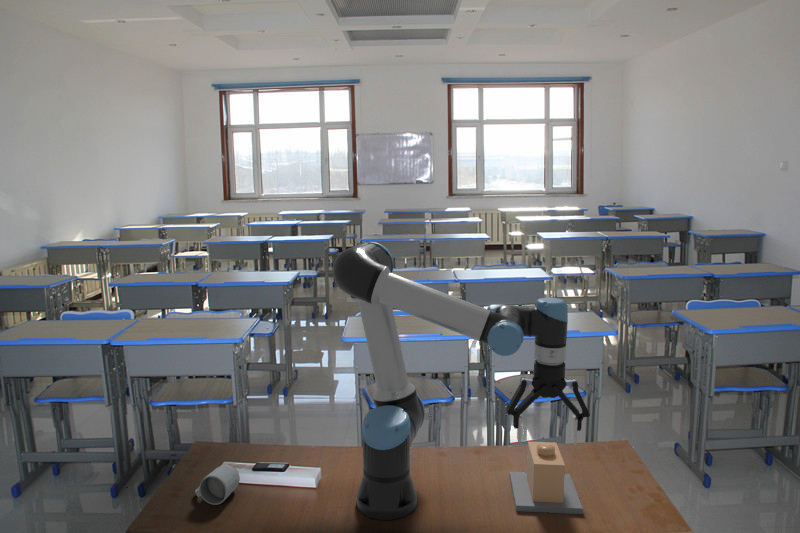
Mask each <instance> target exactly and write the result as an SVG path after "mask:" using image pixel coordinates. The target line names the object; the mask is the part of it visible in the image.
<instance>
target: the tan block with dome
mask: <svg viewBox="0 0 800 533" xmlns="http://www.w3.org/2000/svg"><path fill="white" fill-rule="evenodd" d="M526 453H527V457H526V472H527V480H528V484H529V488H530V492H531V496H532V500H533V501H534V502H556V503H563V497H564V477H565V474H566V472H565V471H566V464H565V461H564V458H563V457H562V453H561V451H560V448H559V446H558V444H557V442H551V441H550V442H547V441H527V452H526Z"/></svg>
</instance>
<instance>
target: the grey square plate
mask: <svg viewBox="0 0 800 533" xmlns="http://www.w3.org/2000/svg"><path fill="white" fill-rule="evenodd" d="M508 475H509V481H510V482H509V483H510V486H511V492H512V496H513V497H512V498H513V501H514V502H513V504H514V508H515V511H516V512H527V513H528V512H530V513H547V512H548V514H550V513H552V514H553V513H554V514H567V515H568V514H571V515H583V514H584V508H583V506H582V502H581V500H580V497H579V494H578V492H577V490H576V487H575V484H574V481H573V480H572V477H571V474H569V473H565V477H564V497H563V503H556V502H534V501H533V500H532V496H531V492H530V488H529V484H528V480H527V471H525V472H524V471H509V474H508Z"/></svg>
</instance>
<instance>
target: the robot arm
mask: <svg viewBox="0 0 800 533" xmlns="http://www.w3.org/2000/svg"><path fill="white" fill-rule="evenodd" d="M393 271H394V258H393V255H392V253H391V251H390V250H389V249H388V248H387V246H385V245H383V244H381V243H379V242H376V241H365V242H363V241H362V242H361V243H358V244H356V245H354V246H352V247H349V248H346V249H344V250H343V251H341V252H340V253H339V254H338V255H337V256H336V257H335V260H334V262H333V265H332V277H333V280H334V282H335V284H336V286H337V287H338V288H339V289H340V290H341V291H342V292H344V293H345V294H347V295H349V296H350V297H351V299H352V300H353V301H354V302H356V303H357V304H358V307H359V312H360V316H361V321H362V325H363V326H362V327H363V330H364V335H365V340H366V345H367V348H368V353H369V358H370V362H371V366H372V371H373V375H374V379H375V380H374V381H375V385H376V389H375V392H374V394H373V395H372V397H373V398H372V399H373V402H374V407H375V408H373V409H370V410H369V411H368V412H367V413H366V414H365V415H364V418H363V420H362V426H361V427H362V428H361V434H362V471H363V472H362V473H363V474H362V477H361V480H360V483H359V485H358V486H359V487H358V489H357V492H356V507H357V509H358V510H359V512H360V513H361V514H363V515H365V517H368V518H371V519H375V520H378V521H379V520H380V521H391V520H397V519H400V518H405V517H406V516H409V515H410V514H411V513H412V512H413V511H414V510H415V509H416V507H417V506H418V504H417V503H418V500H417V499H418V498H417V497H418V494H417V490H416V488H415V484H414V482H413V479H412V476H411V470H410V469H411V467H410V466H411V447H412V444H413V442H414V440H415V438H416V436H417V435H418V432H419V431H420V429H421V428H422V426H423V423H424V420H425V419H424V418H425V410H426V409H425V405H424V402H423V400H422V398H421V396H419V394H417V389H416V386H415V385H414V383H411V382H409V377H408V374H407V369H406V366H405V365H406V364H405V359H404V354H403V351H402V350H403V349H402V345H401V342H400V341H401V340H400V336H399V331H398V327H397V321H396V318H395V312H394V309H396V310H398V311H401V312H403V313H406V314H409V315H411V316H414V317H416V318H419V319H421V320H423V321H427V322H429V323H431V324H434V325H437V326H439V327H441V328H445V329H447V330H450V331H452V332H454V333H457V334H460V335H463V336H465V337H468V338H469V339H472V340H475V341H478V342H480V343H483V344H486V346H487V345H488V347H489V348H490V350H491V351H492V352H494V354H496V355H499V356H501V357H506V356H507V357H508V356H512V355H514V354H516V353H517V352H518V351H519V350H520V348H521V347H522V344H523V343H524V337H526V338H527V337H528V338H529V337H530V338H531V337H533V338H534V353H533V354H534V355H533V356H534V359H535V360H534V362H533V376H532V379H530V378H526V377H524V376H521V377H520V379H519V385H518V387H517V388H516V390H515V393H513V396H512V398H511V399H510V400H509V403H508V405H507V406H506V412H507V415H509V416H512V417H513V419H512V425H513V429H517V430H516V440H517V443H522V434H523V433H522V432H523V431H522V430H523V428H522V427H523V417H522V414H523V413H524V412H525V411H526V410H527V409H528V408H529V407H530V406H531V404H533V402H535V400H537V399H538V398H540V397H542V398H543V399H545V398H552V399H556V397H559V398H560V399H561V400H562V402H563V403H564V404H565V406H566V407H567V408H568V409H569V410H570V411H571V412H572V414H573V415H571V417H572V418H571V432H570V434H571V435H570V441H571V442H572V444H573V445H577V440H578V439H577V438H578V432H580V431H581V430H582V422H583V421H584V418H589V417H590V416H591V414H590V412H589V409H588V408H587V405H586V403H585V401H584V399H583V397H582V395H581V393H580V391H579V383H578V381H577V379H576V378H574V377H572V378H571V379H568V380H566V378H565V377H566V363H565V361H566V360H567V359H566V357H567V340H568V338H567V337H568V336H567V335H568V321H569V318H568V316H569V314H568V313H569V312H568V310H569V309H568V306H569V305H568V304H567V302H566V301H565V300H563V299H562V298H558V297H541V298H538V299H537V300H536V303H535V305H532V306H531V305H530V306H528V305H527V306H526V305H514V304H513V305H512V304H511V305H510V304H503V303H499V304H489V305H488V307H487V308H485V307H482V306H479V305H477V304H474V303H471V302H469V301H466V300H464V299H461V298H459V297H456V296H453V295H450V294H448V293H445V292H443V291H440V290H437V289H435V288H432V287H430V286H427V285H424V284H422V283H419V282H416V281H415V280H411V279H408V278H406V277H402V276H401V275H398V274H395V273H393ZM530 385H531V386H532V390H530V393H529V394H528V395H527V396H526V397H525V398H524V399H522V397H523V396H524V393H525V391H526V390H527V389H528V388H529V387H530ZM567 386H568V389H570V390H572V392H573V394H574V396H575V398H576V400H577V403H578V404H579V406H580V409H581V410H579V409H578V408H577V407H576V405H575V404H574V403H573V402H572V400H570V398H569V397H568V396H567V395H566V394H565V392H564V390H565V388H566V387H567ZM521 399H522V401H521ZM520 401H521V402H520ZM519 402H520V403H519ZM518 403H519V404H518Z"/></svg>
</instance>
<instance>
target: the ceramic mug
mask: <svg viewBox="0 0 800 533" xmlns="http://www.w3.org/2000/svg"><path fill="white" fill-rule="evenodd" d="M240 477H241V476H240V473H239V471H238V470H237V468H235V467H234V466H233V465H230V464H222V465H220V466H217V467H216V468H215V469H213V470H212V471H211V472H210V473H208V474H207V475H206V476H205V477H203V479H201V480H200V484H199V486H198V487H197V488H196V489H195V490H194V492H195V495H196V496H197V497H198V498H200V497H201V498H202V499H203V501H205V502H206V503H208V504H209V505H213V506H218V505H221V504H222V503H224V502H225V501H226V499H227V498H228V497H229V496H230V495H231V494H232V493H233V492H234V491H235V490H236V488H238V486H239V483H240V479H241V478H240Z"/></svg>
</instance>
